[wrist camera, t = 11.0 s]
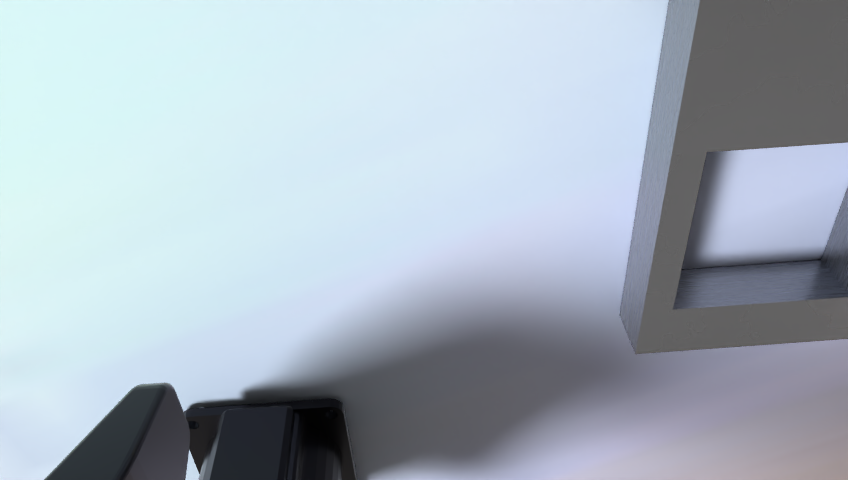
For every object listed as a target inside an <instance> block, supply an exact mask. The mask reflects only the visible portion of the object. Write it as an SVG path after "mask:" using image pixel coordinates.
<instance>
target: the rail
mask: <svg viewBox="0 0 848 480" xmlns="http://www.w3.org/2000/svg"><path fill="white" fill-rule="evenodd" d="M846 142H848V0H669V3H668V10H667V16H666V22H665V29H664V35H663V42H662V48H661V54H660V61H659V67H658V74H657V80H656V86H655V93H654V99H653V105H652V112H651V118H650V125H649V131H648V137H647V144H646V150H645V157H644V163H643V169H642V176H641V182H640V189H639V195H638V201H637V208H636V214H635V220H634V227H633V233H632V240H631V246H630V252H629V259H628V265H627V272H626V278H625V284H624V291H623V297H622V304H621V310H620V317H621V320H622V322H623V325H624V327H625V330H626V332H627V335H628V337H629V340H630V342H631V345H632V347H633V350H634V352H635V354H642V353H656V352H670V351H684V350H698V349H712V348H726V347H740V346H754V345H768V344H782V343H796V342H810V341H824V340H837V339H848V188H847V191H846V194H845V196H844V199H843V202H842V205H841V207H840V210H839V213H838V215H837V218H836V221H835V224H834V226H833V229H832V232H831V235H830V237H829V240H828V243H827V245H826V248H825V251H824V254H823V256H822V259H821V260H814V261H800V262H786V263H772V264H758V265H744V266H729V267H715V268H701V269H687V270H681V269H682V265H683V260H684V256H685V251H686V246H687V242H688V237H689V232H690V228H691V223H692V219H693V214H694V209H695V205H696V200H697V196H698V191H699V186H700V182H701V177H702V172H703V168H704V163H705V159H706V154H707V152H716V151H731V150H745V149H759V148H774V147H788V146H802V145H817V144H831V143H846Z"/></svg>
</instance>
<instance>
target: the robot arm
mask: <svg viewBox="0 0 848 480" xmlns="http://www.w3.org/2000/svg"><path fill="white" fill-rule="evenodd" d="M189 449H190V452H191V454H192V457H193V459H194V462H195V464H196V467H197V469H198V472H199V474H200V476H199V480H357V474H356V469H355V463H354V458H353V452H352V447H351V441H350V436H349V430H348V425H347V419H346V414H345V408H344V405H343V403H342V402H340V401H339V400H336V399H321V400H308V401H294V402H280V403H266V404H252V405H238V406H224V407H210V408H196V409H189V410H186V411H184V412H183V409H182V407H181V404H180V402H179V399H178V397H177V394H176V392H175V390H174V388H173V386H172V385H170V384H169V383H154V384H141V385H138V386H136V387H134V388H133V389H132V390H130V391H129V392H128V393H127V395H126V396H125V397H124V398H123V399H122V400H121V401H120V402H119V403H118V404H117V405H116V406H115V407H114V408H113V409H112V410H111V411H110V412H109V413H108V414H107V415H106V416H105V417H104V418H103V419H102V420H101V421H100V422H99V423H98V425H97V426H96V427H95V428H94V429H93V430H92V431H91V432H90V433H89V434H88V435H87V436H86V437H85V438H84V439H83V440H82V441H81V442H80V443H79V444H78V445H77V446H76V447H75V448H74V449H73V450H72V451H71V452H70V454H69V455H68V456H67V457H66V458H65V459H64V460H63V461H62V462H61V463H60V464H59V465H58V466H57V467H56V468H55V469H54V470H53V471H52V472H51V473H50V474H49V475H48V476H47V477H46V478H45V479H44V480H185V478H186V470H187V462H188V454H189Z"/></svg>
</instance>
